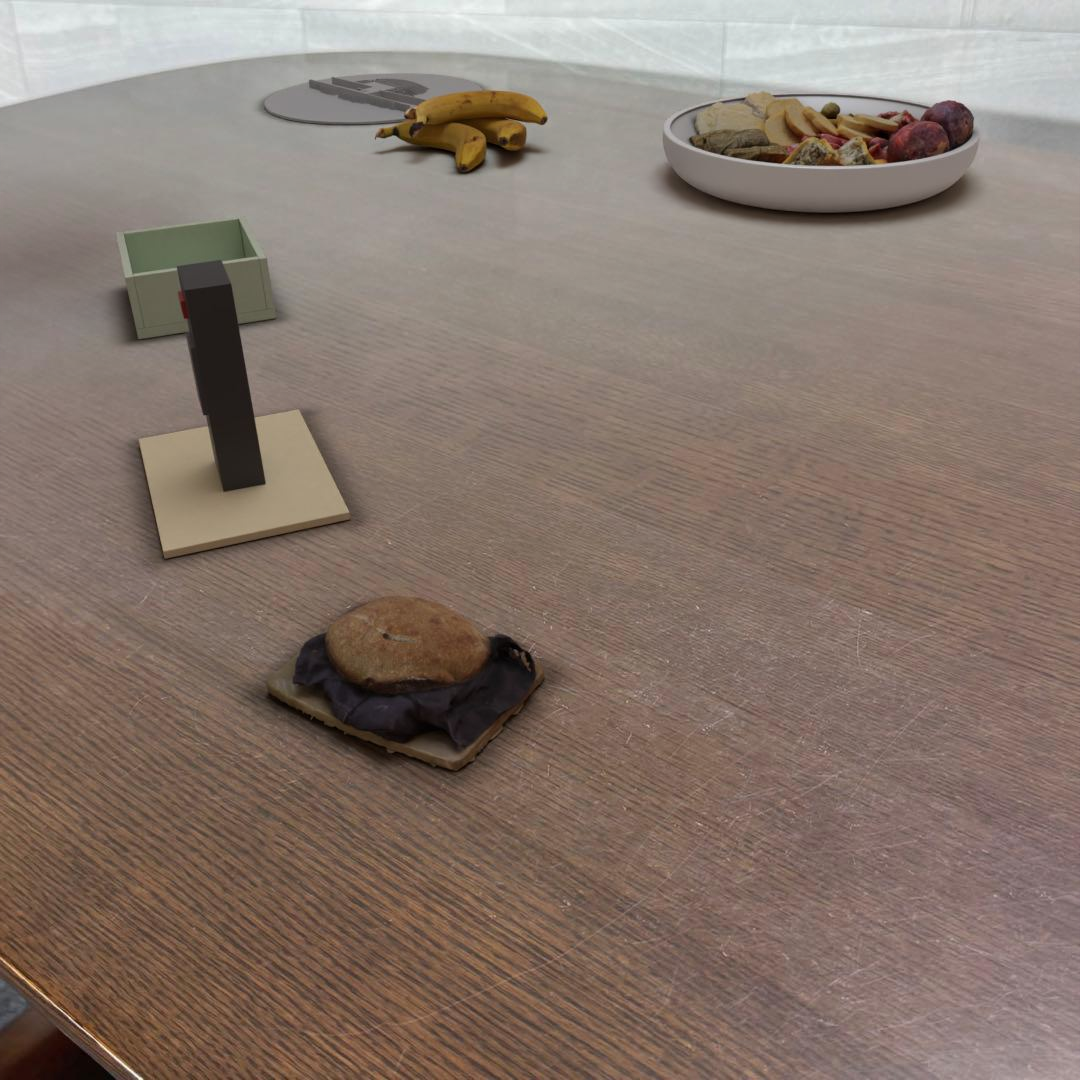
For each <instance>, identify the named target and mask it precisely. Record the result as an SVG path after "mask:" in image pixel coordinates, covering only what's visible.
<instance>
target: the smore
mask: <svg viewBox="0 0 1080 1080" xmlns="http://www.w3.org/2000/svg"><path fill="white" fill-rule="evenodd" d="M515 650H516V651H517V652H515ZM523 653H524V655H523ZM522 655H523V656H522ZM545 678H546V675H545V670H544V668H543V667H542V666H541V665H540V664H538V663H537V662H535V660H534V659H533V658H532V654H531V653H530V651H528V650H526V649H523V648H522V646H520V644H518V642H517V641H515V640H514V639H513V638H512V637H511V636H509V635H506V634H501V633H497V634H495V635H494V636H486V635H485V634H484V633H483V631H482V630H480V629H479V628H478V626H476V625H475V624H473V623H472V622H471V621H470V620H468V619H466V618H465V617H463V616H461V615H460V614H458V613H457V612H455V611H453V610H452V609H449V608H447V607H446V606H444V605H442V604H440V603H437V602H434V601H431V600H428V599H424V598H422V597H417V596H416V597H414V596H406V595H404V596H403V595H389V596H388V595H387V596H383V597H382V596H381V597H378V598H374V599H371V600H370V601H367V602H362V603H361V602H360V604H357V605H355V606H354V607H352V608H351V609H349V610H347V611H346V612H344V614H342V615H341V616H340V617H339V618H338V619H335V620H334V621H333V622H332V623H331V624H330V625H329V627H328V628H326V629H325V630H324V631H323V632H322V633H320V634H317V635H316V636H314V637H312V638H309V639H308V640H307V641H305V642H304V643H303V646H301V648H300V651H298V652H297V653H296V654H295V655H294V656H293V657H291V658H290V659H289V660H288V661H287V662H285V664H283V665H282V666H281V667H280V668H278V669H277V670H276V671H275V672H273V673H272V674H271V675H270V676H269V678H268V679H267V682H266V689H265V692H269V694H271V695H272V696H273V698H275V697H276V699H277V700H279V701H280V702H282V703H286V704H287V705H288V706H290V707H291V708H294V709H295V710H296V711H299V710H300V711H302V714H306V715H310V716H311V717H310V720H312V719H313V718H314V717H315V719H316V720H318V721H320V722H323V724H324V725H326V726H327V727H331V728H334V727H336V728H337V729H338V730H339V731H342V732H343V734H344V735H350V736H354V737H356V738H358V739H360V740H363V741H364V742H369V741H370V742H371V743H373V744H374V745H377V746H380V747H381V746H382V747H385V748H386V751H387V753H388V754H393V753H395V752H397V753H401V754H404V755H406V756H407V757H409V758H416V759H418V760H421V761H422V762H424V763H427V764H429V765H431V767H434V768H435V767H436V766H438V767H441V768H444V769H449V770H450V771H454V772H455V771H458V770H460V769H461V768H462V767H464V766H466V765H467V764H468V763H470V762H473V761H475V760H476V756H477V754H479V752H480V753H482V751H481V750H483V749H484V747H485V746H487V744H489V743H488V742H489V741H491V740H493V739H494V738H496V736H498V735H499V734H500V733H501V732H502V730H503V729H504V727H503V725H504V723H506V722H507V721H508V719H509V718H510V717H511V716H514V715H518V714H519V712H520V711H521V710H522V709H523V707H524V704H525V701H526V700H527V699H528V697H530V696H531V694H532V693H533V692H534V691H535V689H536V688H537V687H538V686H539V685H541V684H542V682H543V681H544V679H545Z"/></svg>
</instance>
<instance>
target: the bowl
mask: <svg viewBox="0 0 1080 1080" xmlns="http://www.w3.org/2000/svg"><path fill="white" fill-rule="evenodd" d="M974 121H975V117H974V114H973V113H972V111H971V110H970V109H969V108H968V107H967V106H965V104H964V103H962V102H959V101H958V102H957V101H956V100H950V99H947V100H944V101H940V102H936V103H934V104H933V105H932V104H928V103H923V102H920V101H915V100H910V99H909V100H908V99H904V98H903V99H902V98H896V97H889V96H882V95H881V96H880V95H873V94H872V95H871V94H860V93H859V94H858V93H847V92H823V91H822V92H820V91H819V92H817V91H816V92H815V91H813V92H811V91H810V92H807V91H806V92H805V91H804V92H803V91H801V92H796V91H795V92H775V93H774V92H773V93H771V92H766V91H765V90H761V91H760V92H753V93H748V94H747V95H741V96H740V95H739V96H732V97H727V98H726V97H725V98H721V99H715V100H710V101H707V102H702V103H698V104H695V105H692V106H689V107H686V108H683V109H680V110H679V111H677V112H675V113H673V114H671V116H669V117H668V118H667V119H666V120H665V122H664V123H663V125H662V126H663V127H662V145H663V151H664V153H665V157H666V160H667V162H668V163H669V165H670V167H671V168H672V169H673V171H674V172H675V174H677V175H678V176H679V177H680V178H681V179H682V180H683V181H684V182H686V183H687V184H688V185H690V186H692V187H693V188H695V189H696V190H699V191H700V192H702V193H704V194H707V195H709V196H712V197H715V198H718V199H721V200H724V201H726V202H727V201H728V202H731V203H736V204H740V205H745V206H749V207H754V208H760V209H766V210H767V209H768V210H776V211H783V212H784V211H785V212H797V213H824V214H825V213H829V214H830V213H831V214H833V213H854V212H867V211H868V212H869V211H877V210H885V209H891V208H895V207H902V206H906V205H910V204H913V203H917V202H920V201H923V200H926V199H928V198H932V197H933V196H936V195H937V194H940V193H942V192H943V191H945V190H947V189H949V188H950V187H952V186H953V185H954V184H956V183H957V182H958V181H959V180H960V179H961V178H963V176H964V175H965V174H966V173H967V171H968V170H969V169H970V167H971V166H972V164H973V162H974V160H975V157H976V156H977V152H978V149H979V145H980V137H981V131H980V129H979V127H978V125H977V124H975V122H974Z"/></svg>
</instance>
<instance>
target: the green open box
mask: <svg viewBox="0 0 1080 1080" xmlns="http://www.w3.org/2000/svg"><path fill="white" fill-rule="evenodd" d="M115 238H116V242H117V248H118V252H119V256H120V257H119V258H120V261H121V267H122V271H123V276H124V281H125V285H126V289H127V294H128V299H129V304H130V307H131V312H132V313H131V314H132V316H133V321H134V326H135V330H136V331H135V332H136V334H137V335H136V336H137V339H138V340H144V339H150V338H151V339H152V338H159V337H164V336H171V335H177V334H183V333H187V332H189V327H188V322H187V319H184V317H183V314H182V311H181V307H180V302H179V297H178V292H179V291H181V286H180V281H179V276H178V271H177V266H181V265H188V264H195V263H202V262H209V261H217V260H221V261H222V263H223V265H224V268H225V270H226V272H227V275H228V277H229V279H230V282H231V285H232V290H233V296H234V302H235V308H236V313H237V319H238V325H240V324H241V325H242V324H248V323H253V322H254V323H255V322H261V321H268V320H273V319H277V315H276V309H275V301H274V294H273V288H272V281H271V276H270V270H269V263H268V257H267V256H266V253H265V251H264V249H263V248H262V246H261V244H260V242H259V239H258V238H257V236H256V235H255V232H254V230H253V228H252V226H251V225H250V223H249V220H248V219H247V217H246V216H245V215H240V216H232V217H226V218H225V217H224V218H218V219H211V220H202V221H194V222H187V223H186V222H185V223H178V224H171V225H163V226H157V227H149V228H140V229H134V230H125V231H117V232H115Z"/></svg>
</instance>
